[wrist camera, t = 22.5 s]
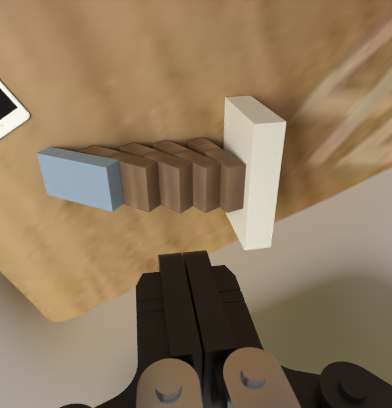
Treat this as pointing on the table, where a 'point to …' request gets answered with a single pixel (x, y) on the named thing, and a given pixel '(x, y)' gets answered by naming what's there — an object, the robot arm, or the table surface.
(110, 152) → the walnut domino
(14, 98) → the cell phone
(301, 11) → the table surface
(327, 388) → the robot arm
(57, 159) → the slate domino
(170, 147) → the walnut domino
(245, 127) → the block
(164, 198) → the walnut domino
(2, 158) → the table surface
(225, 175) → the walnut domino
